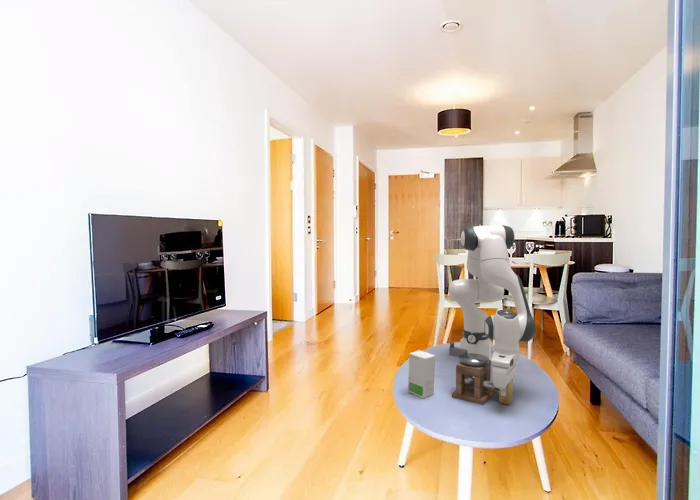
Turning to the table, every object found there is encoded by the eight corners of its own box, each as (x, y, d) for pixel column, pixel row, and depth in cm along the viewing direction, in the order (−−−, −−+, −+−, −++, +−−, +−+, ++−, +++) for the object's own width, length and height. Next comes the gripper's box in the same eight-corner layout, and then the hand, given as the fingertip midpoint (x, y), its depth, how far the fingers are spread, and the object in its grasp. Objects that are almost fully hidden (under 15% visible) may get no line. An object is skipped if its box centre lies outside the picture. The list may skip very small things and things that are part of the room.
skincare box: (407, 392, 158) (407, 352, 157) (418, 387, 162) (418, 349, 161) (424, 399, 151) (424, 358, 150) (435, 394, 155) (435, 354, 154)
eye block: (464, 385, 164) (464, 354, 163) (494, 391, 157) (495, 360, 156) (451, 397, 152) (451, 364, 152) (483, 405, 146) (483, 371, 145)
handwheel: (493, 361, 154) (494, 347, 154) (480, 368, 146) (480, 353, 146) (457, 352, 165) (457, 339, 165) (442, 359, 157) (442, 345, 157)
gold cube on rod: (460, 388, 160) (460, 368, 159) (512, 400, 148) (512, 379, 148) (456, 392, 156) (456, 371, 156) (509, 404, 145) (509, 383, 144)
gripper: (505, 346, 157) (504, 381, 158) (489, 361, 140) (488, 400, 141) (522, 349, 153) (521, 385, 154) (508, 364, 137) (507, 404, 138)
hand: (505, 392), depth 148 cm, fingers closed on gold cube on rod, 4 cm apart
